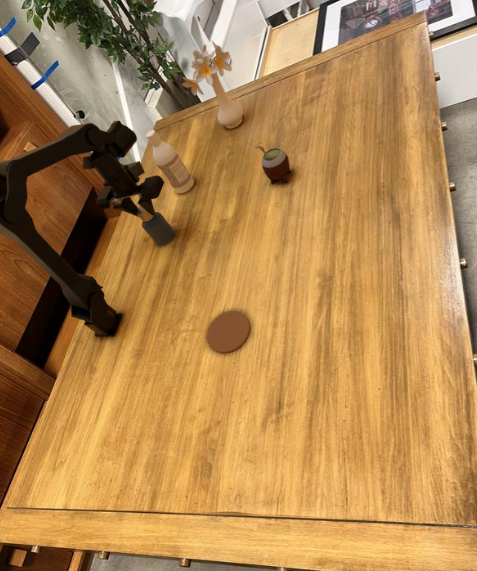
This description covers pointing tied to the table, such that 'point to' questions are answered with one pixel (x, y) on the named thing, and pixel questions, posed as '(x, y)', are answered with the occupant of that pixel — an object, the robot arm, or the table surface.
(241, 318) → the coaster
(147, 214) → the cap
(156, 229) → the bottle
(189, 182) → the bath foam
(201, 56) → the flower vase
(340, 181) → the table surface
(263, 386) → the table surface
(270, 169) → the mate gourd
